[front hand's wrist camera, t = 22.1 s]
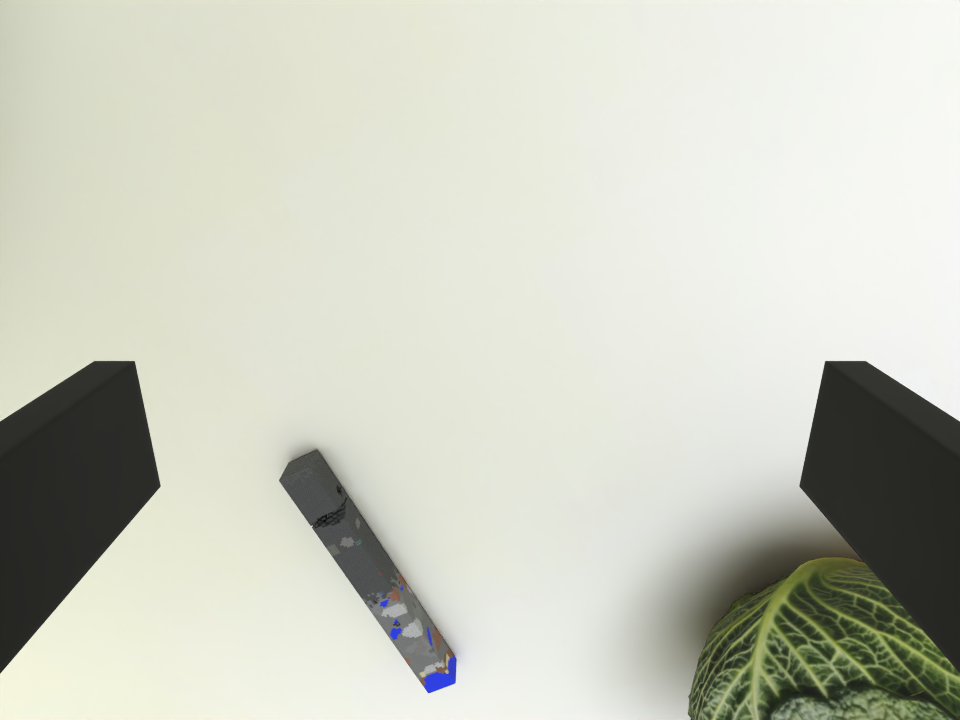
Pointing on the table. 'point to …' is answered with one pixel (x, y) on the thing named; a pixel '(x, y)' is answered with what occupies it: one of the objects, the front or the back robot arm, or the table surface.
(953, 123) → the table surface
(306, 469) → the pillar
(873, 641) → the vegetable
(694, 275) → the table surface
